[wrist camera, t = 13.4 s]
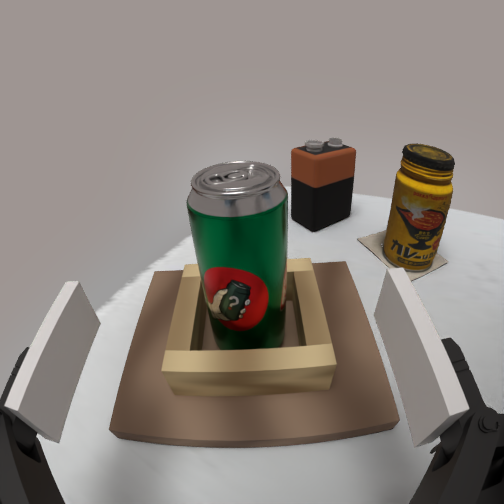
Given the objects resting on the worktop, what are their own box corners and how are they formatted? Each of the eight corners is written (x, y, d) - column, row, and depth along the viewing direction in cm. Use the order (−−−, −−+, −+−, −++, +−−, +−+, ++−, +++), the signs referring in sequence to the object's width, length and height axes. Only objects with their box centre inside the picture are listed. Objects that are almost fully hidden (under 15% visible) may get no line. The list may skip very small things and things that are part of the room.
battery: (289, 218, 38) (289, 140, 32) (327, 204, 41) (331, 133, 35) (313, 233, 35) (316, 149, 29) (351, 216, 37) (358, 141, 32)
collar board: (343, 273, 29) (349, 234, 26) (392, 428, 16) (417, 398, 13) (158, 283, 29) (146, 245, 26) (118, 438, 16) (86, 409, 13)
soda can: (298, 347, 20) (308, 181, 13) (229, 375, 19) (198, 208, 12) (265, 302, 24) (259, 152, 17) (205, 323, 23) (173, 171, 16)
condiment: (406, 284, 27) (436, 166, 20) (356, 240, 33) (368, 136, 26) (448, 263, 29) (476, 161, 22) (400, 226, 35) (415, 134, 28)
